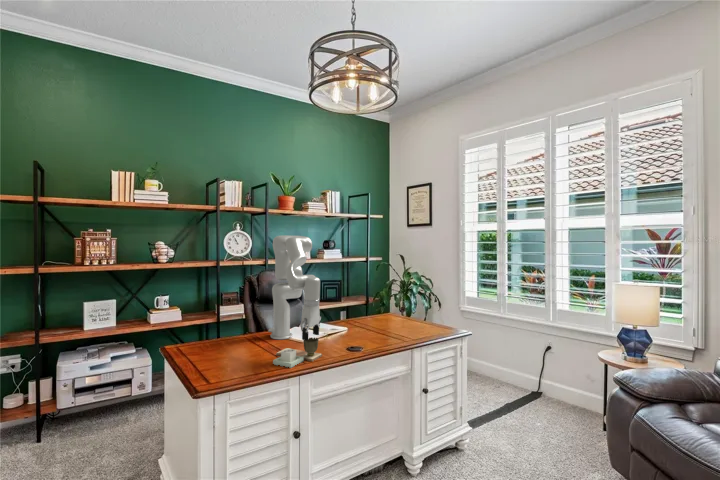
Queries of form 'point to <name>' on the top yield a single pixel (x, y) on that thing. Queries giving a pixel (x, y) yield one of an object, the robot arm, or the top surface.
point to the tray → (288, 364)
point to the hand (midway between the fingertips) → (310, 337)
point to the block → (288, 355)
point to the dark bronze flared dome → (311, 346)
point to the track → (303, 355)
